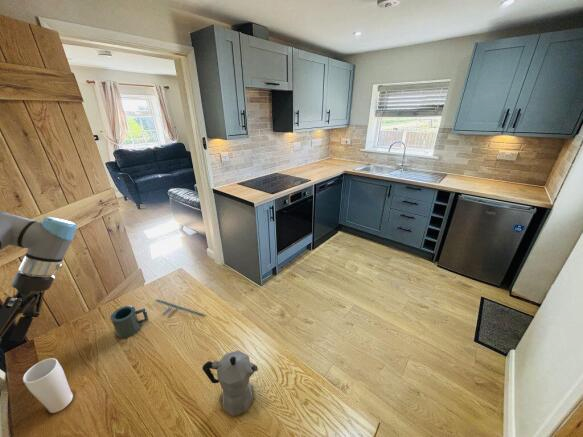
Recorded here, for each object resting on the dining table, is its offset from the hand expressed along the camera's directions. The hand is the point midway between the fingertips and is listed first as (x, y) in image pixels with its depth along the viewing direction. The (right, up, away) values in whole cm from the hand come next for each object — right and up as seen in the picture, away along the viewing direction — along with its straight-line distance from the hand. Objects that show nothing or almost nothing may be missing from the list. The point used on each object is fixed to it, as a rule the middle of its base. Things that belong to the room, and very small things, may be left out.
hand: (0, 352), depth 62 cm
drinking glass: (+10, -19, +7) cm, 22 cm away
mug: (+15, -8, +31) cm, 35 cm away
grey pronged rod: (+19, -12, +18) cm, 29 cm away
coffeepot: (+59, -19, +9) cm, 63 cm away
